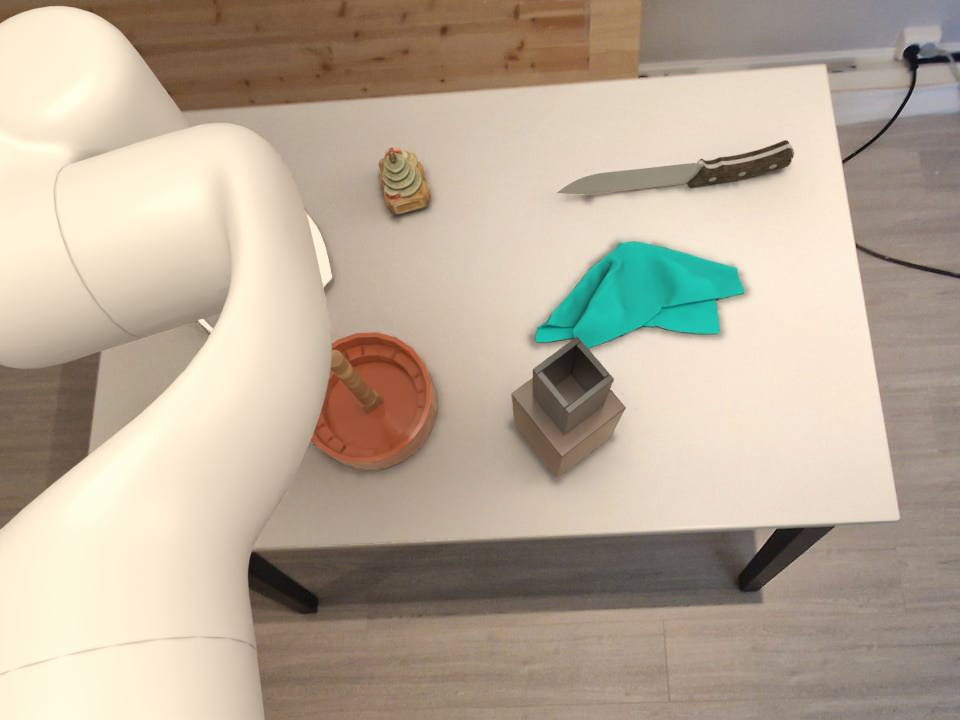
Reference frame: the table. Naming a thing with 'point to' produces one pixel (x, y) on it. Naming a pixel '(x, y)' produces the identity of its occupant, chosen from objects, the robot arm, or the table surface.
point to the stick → (354, 382)
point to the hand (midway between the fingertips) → (277, 324)
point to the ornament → (403, 181)
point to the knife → (688, 172)
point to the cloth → (642, 295)
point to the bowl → (393, 422)
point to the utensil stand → (567, 407)
